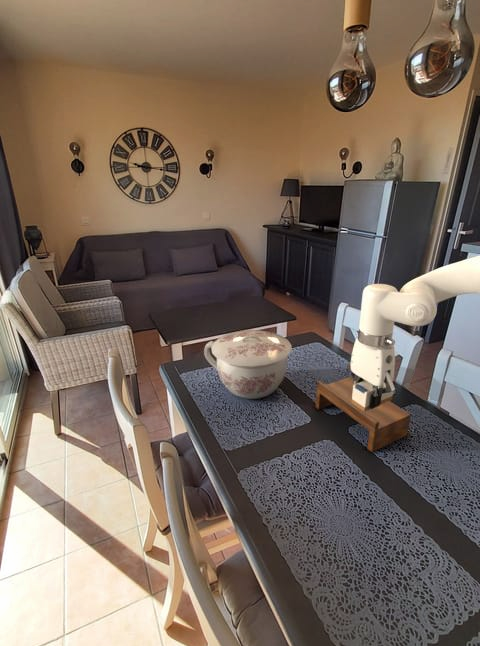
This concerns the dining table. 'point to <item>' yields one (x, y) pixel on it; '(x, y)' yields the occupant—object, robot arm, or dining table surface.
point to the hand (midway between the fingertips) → (366, 401)
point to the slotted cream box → (366, 395)
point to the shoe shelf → (366, 413)
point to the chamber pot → (250, 361)
